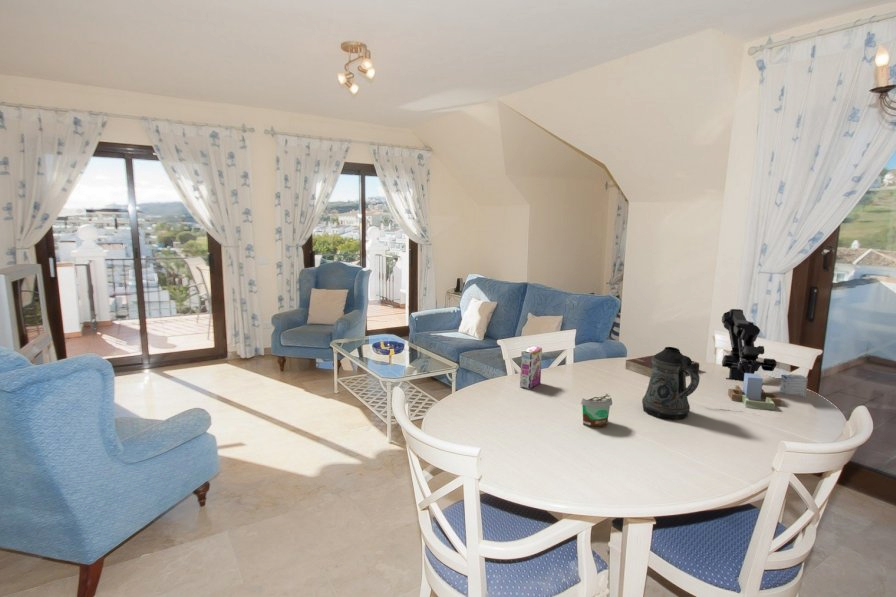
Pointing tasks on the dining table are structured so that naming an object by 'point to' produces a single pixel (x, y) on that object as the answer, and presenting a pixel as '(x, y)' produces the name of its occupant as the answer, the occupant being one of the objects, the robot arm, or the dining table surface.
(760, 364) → the robot arm
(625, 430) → the dining table surface
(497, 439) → the dining table surface
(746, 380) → the block
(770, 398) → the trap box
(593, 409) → the food container
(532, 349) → the candy bar box
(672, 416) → the beer stein
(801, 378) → the medicine box
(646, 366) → the hardback book
